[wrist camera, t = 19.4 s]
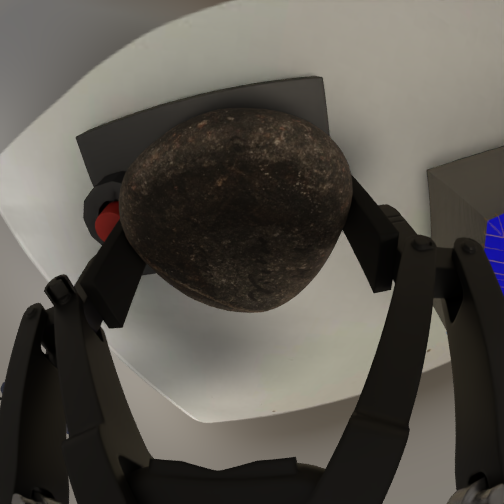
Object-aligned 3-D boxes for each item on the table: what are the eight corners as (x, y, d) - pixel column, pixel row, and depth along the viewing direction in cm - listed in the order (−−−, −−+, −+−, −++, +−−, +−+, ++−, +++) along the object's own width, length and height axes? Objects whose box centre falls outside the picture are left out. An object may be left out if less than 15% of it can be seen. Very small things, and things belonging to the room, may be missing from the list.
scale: (133, 265, 24) (120, 292, 21) (79, 134, 17) (54, 148, 14) (330, 233, 23) (341, 260, 20) (316, 75, 16) (331, 78, 13)
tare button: (112, 235, 19) (104, 248, 17) (98, 205, 17) (89, 217, 16) (141, 229, 18) (134, 242, 17) (129, 197, 17) (120, 208, 16)
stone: (362, 242, 18) (391, 297, 14) (214, 302, 20) (208, 361, 16) (289, 65, 12) (311, 63, 8) (111, 166, 14) (66, 208, 10)
